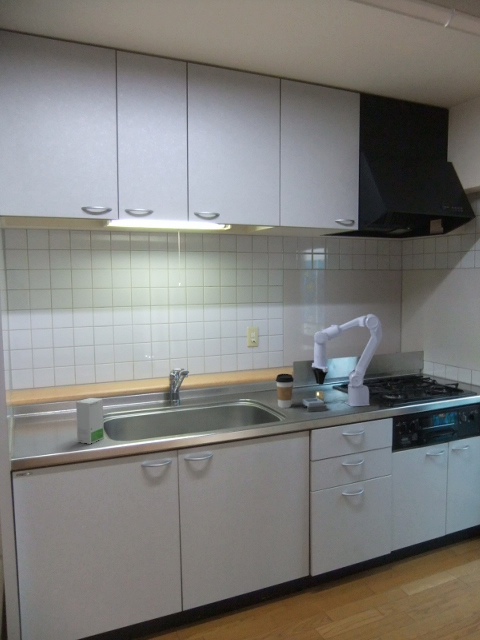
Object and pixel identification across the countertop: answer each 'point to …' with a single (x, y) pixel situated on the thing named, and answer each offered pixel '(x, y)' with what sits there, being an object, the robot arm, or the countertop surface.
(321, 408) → the stop
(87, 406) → the skincare box
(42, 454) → the countertop surface
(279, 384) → the coffee cup
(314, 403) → the grey square tray
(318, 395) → the brass cylinder
